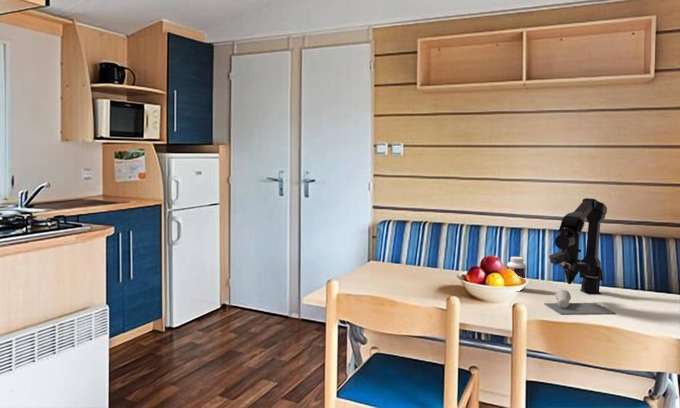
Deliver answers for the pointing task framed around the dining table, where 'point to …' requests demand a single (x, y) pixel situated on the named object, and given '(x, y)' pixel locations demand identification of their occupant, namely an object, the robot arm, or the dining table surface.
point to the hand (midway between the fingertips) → (569, 283)
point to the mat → (580, 308)
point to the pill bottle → (517, 266)
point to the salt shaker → (563, 298)
